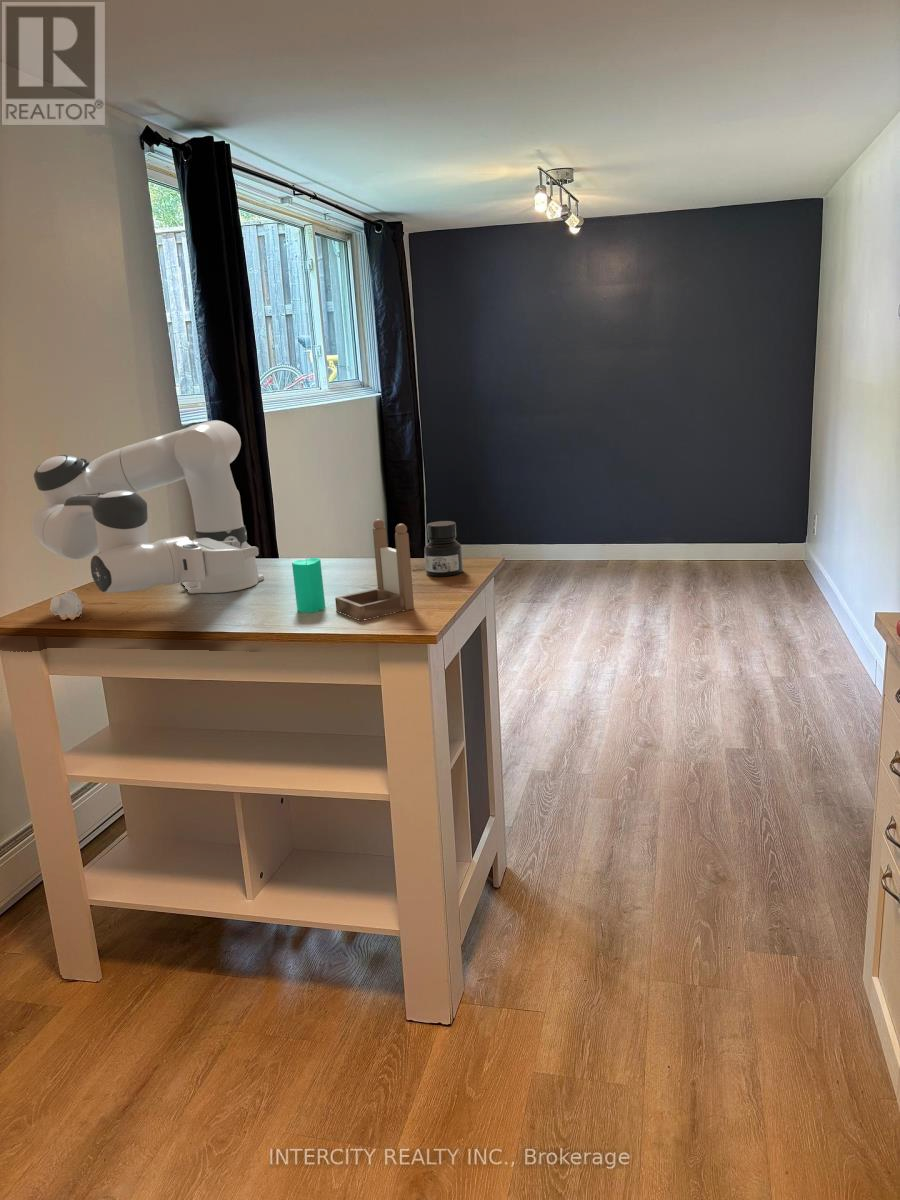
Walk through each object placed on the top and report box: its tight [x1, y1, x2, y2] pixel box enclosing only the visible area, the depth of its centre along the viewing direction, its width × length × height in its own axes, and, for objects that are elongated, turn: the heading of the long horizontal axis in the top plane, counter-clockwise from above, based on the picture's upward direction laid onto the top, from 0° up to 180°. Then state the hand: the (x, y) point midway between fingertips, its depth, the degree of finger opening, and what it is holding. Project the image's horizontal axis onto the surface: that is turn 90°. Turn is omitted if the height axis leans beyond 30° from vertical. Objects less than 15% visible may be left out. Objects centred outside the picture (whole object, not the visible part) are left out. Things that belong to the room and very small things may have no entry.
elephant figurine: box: [48, 589, 83, 618], centre depth 205 cm, size 7×8×6 cm
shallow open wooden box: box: [334, 587, 405, 621], centre depth 195 cm, size 10×10×3 cm
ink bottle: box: [423, 520, 464, 577], centre depth 223 cm, size 10×9×12 cm
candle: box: [291, 553, 326, 613], centre depth 199 cm, size 6×6×12 cm
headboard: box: [372, 518, 415, 611], centre depth 197 cm, size 11×2×18 cm, turn 35°
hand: (248, 547), depth 189 cm, fingers open, 8 cm apart
